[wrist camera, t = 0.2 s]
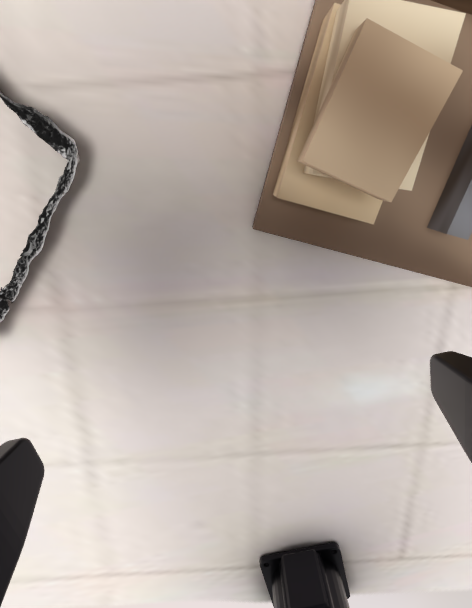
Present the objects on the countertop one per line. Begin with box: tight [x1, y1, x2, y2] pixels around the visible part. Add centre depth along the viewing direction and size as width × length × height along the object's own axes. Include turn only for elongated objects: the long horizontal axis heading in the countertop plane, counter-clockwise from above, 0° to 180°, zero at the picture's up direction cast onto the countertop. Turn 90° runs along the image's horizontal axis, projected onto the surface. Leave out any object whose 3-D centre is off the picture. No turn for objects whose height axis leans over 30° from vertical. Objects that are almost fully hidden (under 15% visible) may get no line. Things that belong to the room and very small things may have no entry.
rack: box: [253, 0, 472, 287], centre depth 17 cm, size 13×16×6 cm
